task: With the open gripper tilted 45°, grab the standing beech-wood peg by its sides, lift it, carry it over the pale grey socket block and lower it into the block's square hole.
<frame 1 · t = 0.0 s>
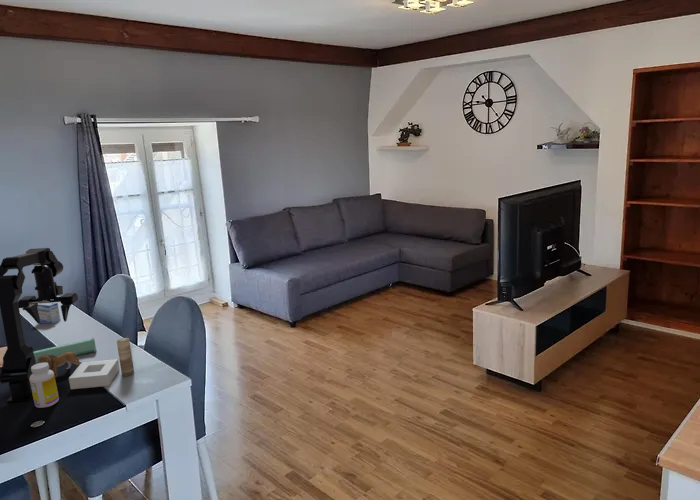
hand: (52, 322, 189), 15 cm above the table, tool pointing down, fingers open, 9 cm apart
container: (60, 359, 193), on the table
supplement bottle: (47, 403, 161), on the table
peg: (128, 373, 178), on the table
lion figurine: (61, 374, 180), on the table
medicine box: (50, 322, 232), on the table
socket: (96, 379, 175), on the table
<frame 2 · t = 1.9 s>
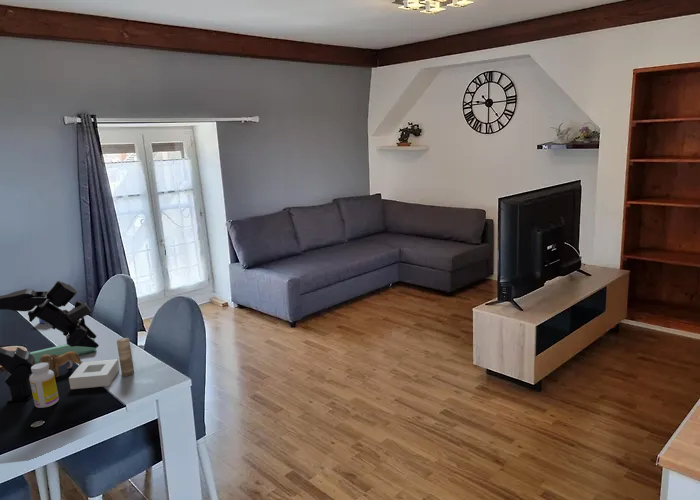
hand: (96, 341, 173), 13 cm above the table, tool tilted 45°, fingers open, 9 cm apart
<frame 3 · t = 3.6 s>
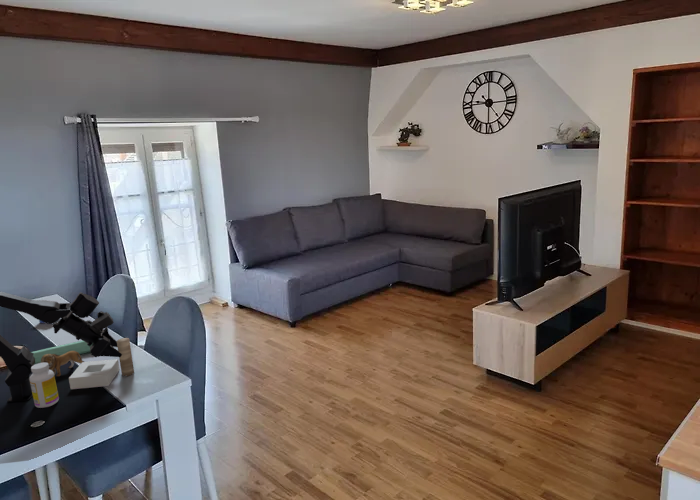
hand: (120, 350, 176), 9 cm above the table, tool tilted 45°, fingers open, 9 cm apart
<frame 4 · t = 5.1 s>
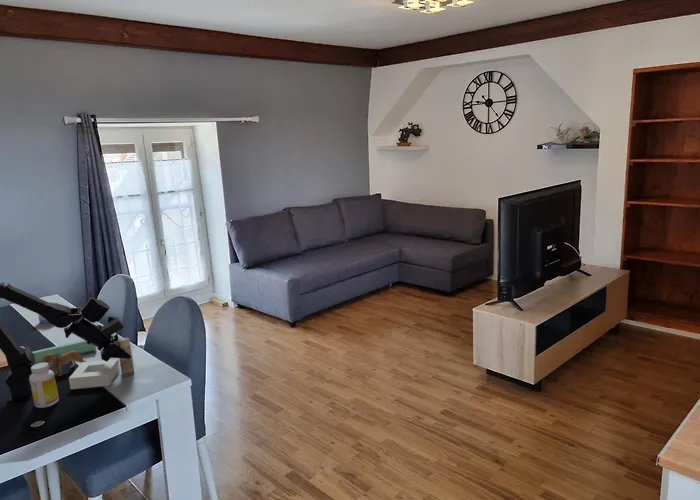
hand: (129, 355, 177), 7 cm above the table, tool tilted 45°, fingers closed on peg, 4 cm apart
peg: (128, 373, 178), on the table, touching gripper
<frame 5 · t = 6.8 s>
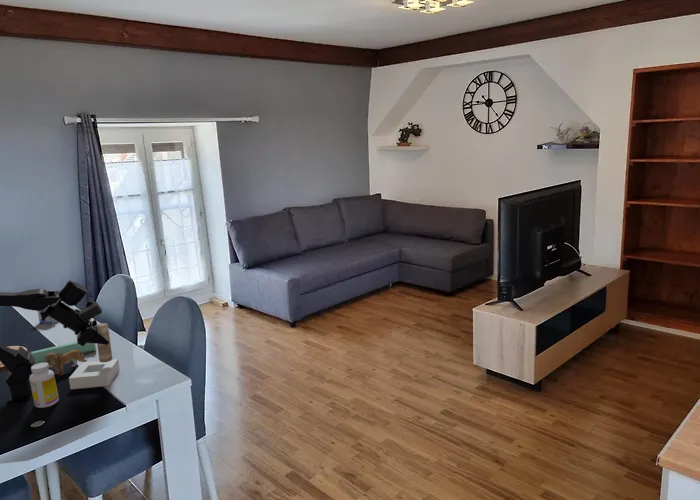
hand: (107, 341, 174), 13 cm above the table, tool tilted 45°, fingers closed on peg, 4 cm apart
peg: (106, 359, 175), point 6 cm above the table, touching gripper
when the fingers open (9 cm above the table, at t = 8.5 s): peg drops 2 cm, resting in socket.
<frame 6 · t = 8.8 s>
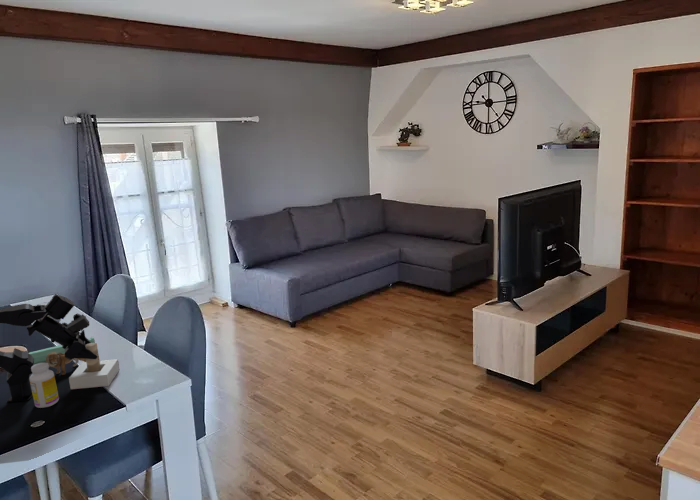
hand: (96, 353, 174), 9 cm above the table, tool tilted 45°, fingers open, 7 cm apart
peg: (95, 379, 175), resting in socket
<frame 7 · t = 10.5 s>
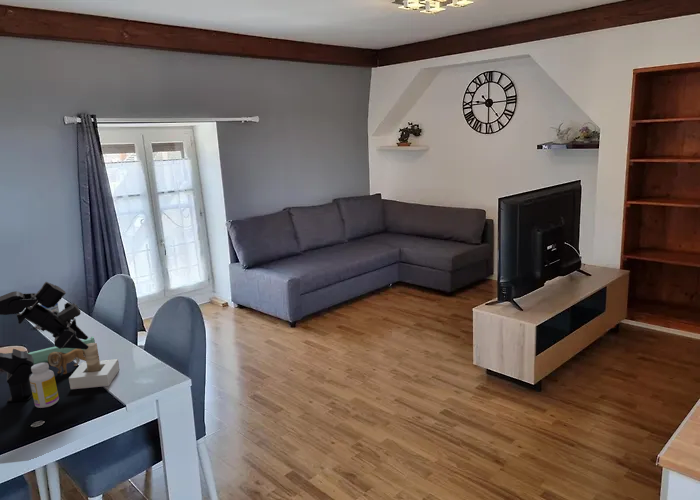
hand: (87, 343, 172), 13 cm above the table, tool tilted 45°, fingers open, 9 cm apart
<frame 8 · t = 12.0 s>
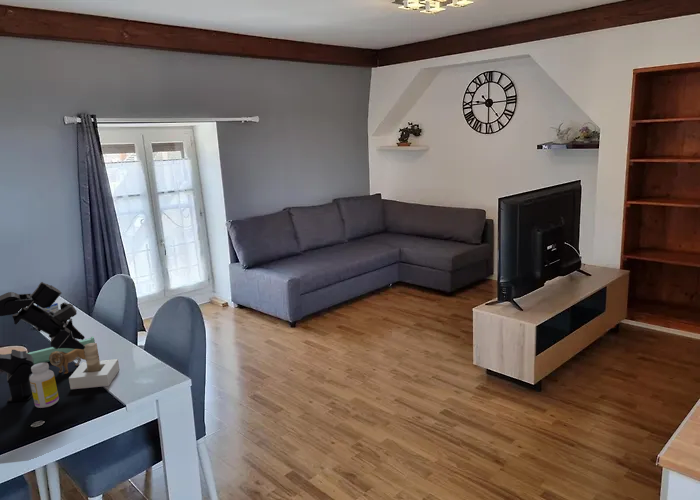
hand: (84, 343, 171), 14 cm above the table, tool tilted 45°, fingers open, 9 cm apart
at the end: peg 0.0 cm off-centre on the socket, point 0.0 cm above the socket's base; peg tilted 0°; the gripper is holding nothing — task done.
